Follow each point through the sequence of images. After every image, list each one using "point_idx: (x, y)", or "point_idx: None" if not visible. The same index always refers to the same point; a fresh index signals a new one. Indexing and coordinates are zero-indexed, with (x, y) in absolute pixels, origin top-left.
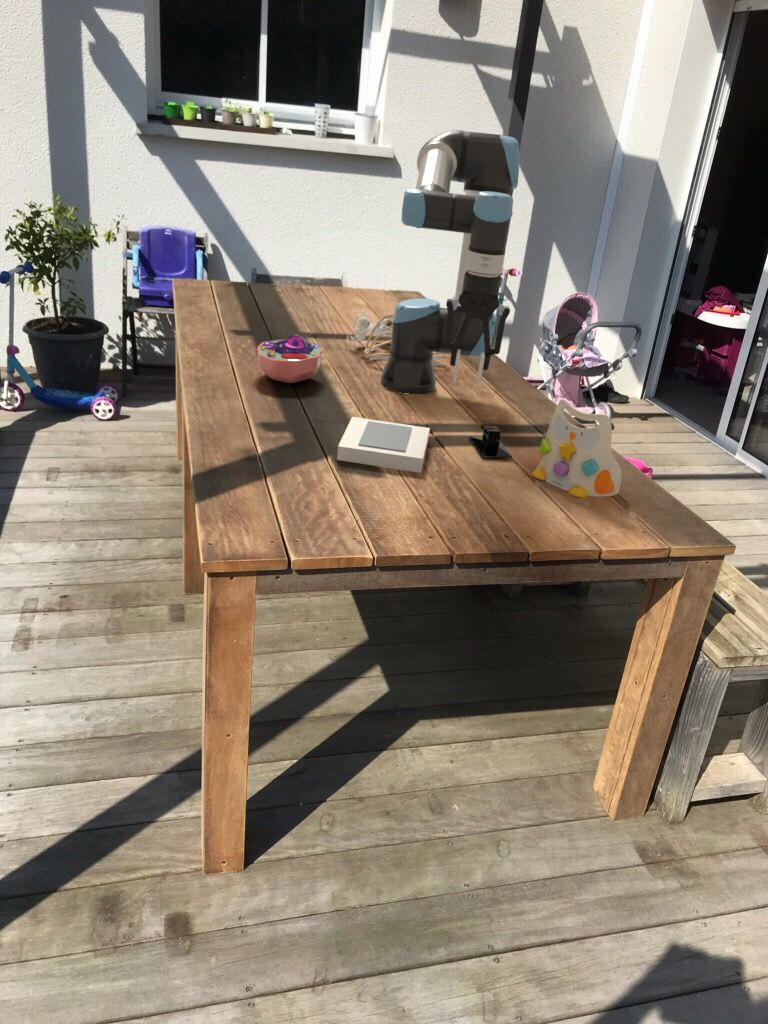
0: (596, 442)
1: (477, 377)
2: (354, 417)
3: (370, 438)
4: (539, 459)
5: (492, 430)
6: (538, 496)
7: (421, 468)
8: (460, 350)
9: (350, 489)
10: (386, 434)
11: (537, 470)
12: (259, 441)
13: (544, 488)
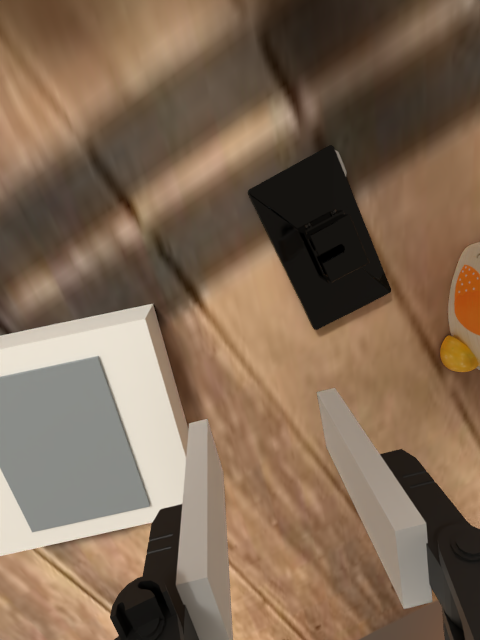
0: None
1: (327, 423)
2: None
3: (38, 490)
4: (471, 320)
5: (342, 267)
6: (449, 435)
7: None
8: (211, 593)
9: (105, 588)
10: (59, 444)
11: (459, 364)
12: None
13: (463, 393)
